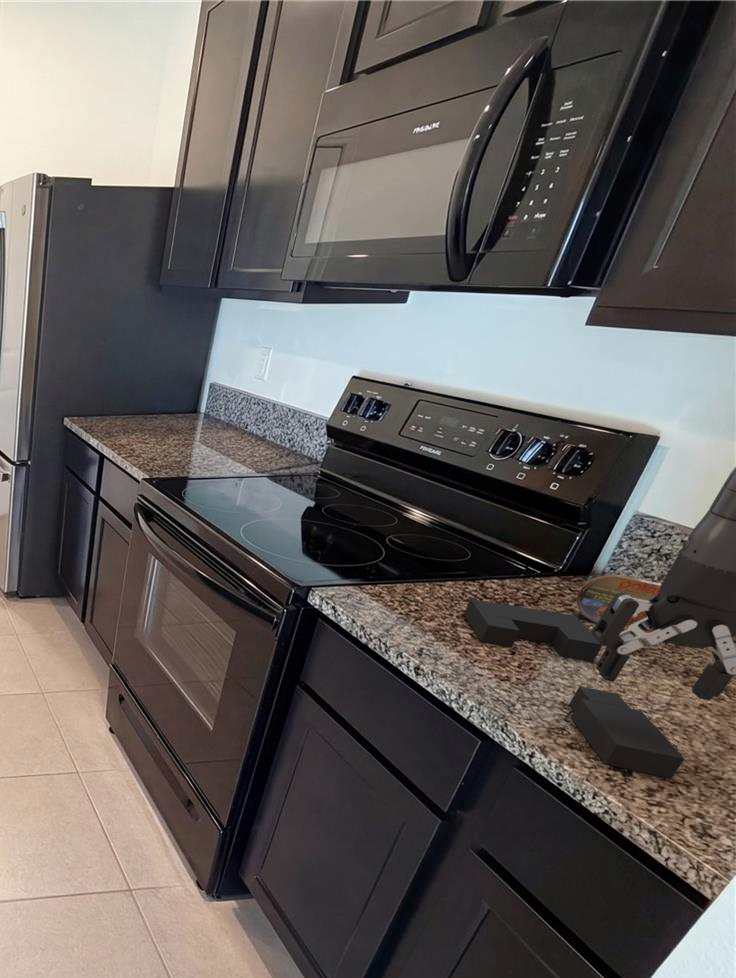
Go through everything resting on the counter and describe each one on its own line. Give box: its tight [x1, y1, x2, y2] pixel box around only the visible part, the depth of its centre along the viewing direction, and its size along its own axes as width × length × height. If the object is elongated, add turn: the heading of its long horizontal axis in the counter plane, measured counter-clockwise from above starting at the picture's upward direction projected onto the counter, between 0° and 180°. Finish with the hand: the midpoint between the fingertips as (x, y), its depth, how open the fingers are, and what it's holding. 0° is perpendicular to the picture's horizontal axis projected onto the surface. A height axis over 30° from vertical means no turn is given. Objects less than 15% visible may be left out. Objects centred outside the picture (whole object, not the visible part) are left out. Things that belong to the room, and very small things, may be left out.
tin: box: [576, 574, 662, 633], centre depth 105 cm, size 15×3×8 cm, turn 45°
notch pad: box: [463, 598, 603, 662], centre depth 103 cm, size 14×10×3 cm
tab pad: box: [568, 685, 685, 780], centre depth 81 cm, size 6×14×3 cm, turn 157°
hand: (652, 686), depth 76 cm, fingers open, 8 cm apart
